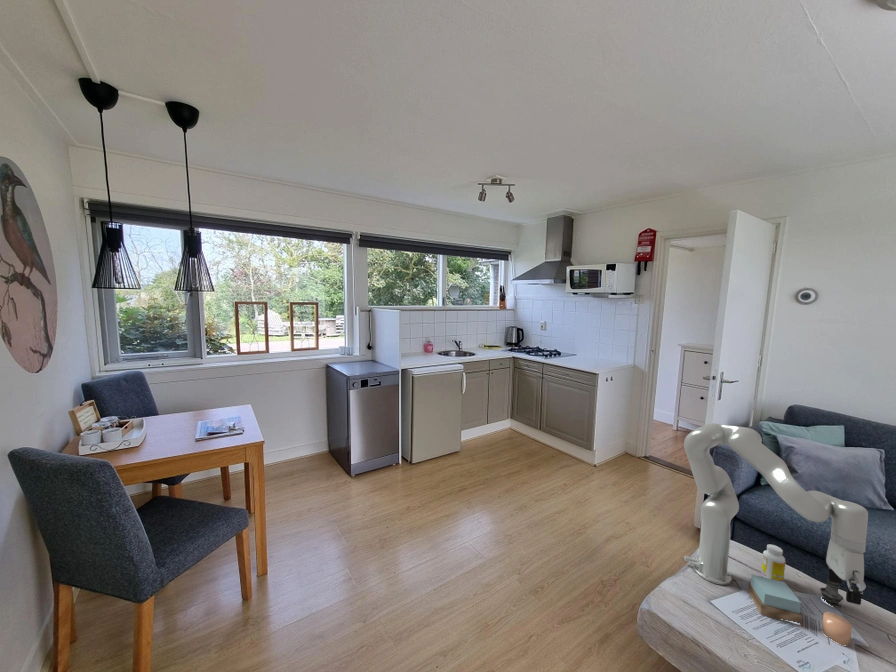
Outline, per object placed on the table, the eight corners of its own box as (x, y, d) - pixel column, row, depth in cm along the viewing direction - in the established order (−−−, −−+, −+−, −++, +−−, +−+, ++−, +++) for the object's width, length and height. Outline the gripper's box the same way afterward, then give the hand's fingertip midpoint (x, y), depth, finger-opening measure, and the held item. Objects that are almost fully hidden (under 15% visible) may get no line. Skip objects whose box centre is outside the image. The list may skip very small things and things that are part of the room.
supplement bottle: (786, 582, 142) (790, 551, 141) (777, 586, 139) (780, 555, 138) (766, 570, 148) (769, 541, 147) (757, 574, 145) (760, 544, 145)
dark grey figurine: (847, 610, 129) (850, 579, 128) (827, 607, 130) (831, 576, 129) (833, 598, 134) (836, 567, 134) (814, 595, 136) (818, 565, 135)
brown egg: (828, 641, 116) (830, 624, 116) (817, 626, 122) (819, 609, 121) (855, 649, 113) (857, 631, 113) (842, 633, 119) (844, 616, 119)
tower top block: (763, 604, 126) (764, 593, 125) (750, 584, 135) (751, 574, 135) (799, 613, 122) (801, 602, 122) (783, 592, 132) (784, 582, 131)
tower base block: (760, 615, 126) (761, 604, 125) (748, 593, 136) (749, 583, 136) (801, 627, 122) (802, 616, 121) (785, 603, 132) (786, 593, 131)
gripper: (817, 524, 125) (813, 571, 125) (848, 553, 109) (844, 607, 110) (846, 529, 122) (842, 578, 122) (883, 561, 106) (878, 616, 107)
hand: (843, 592), depth 116 cm, fingers open, 9 cm apart
